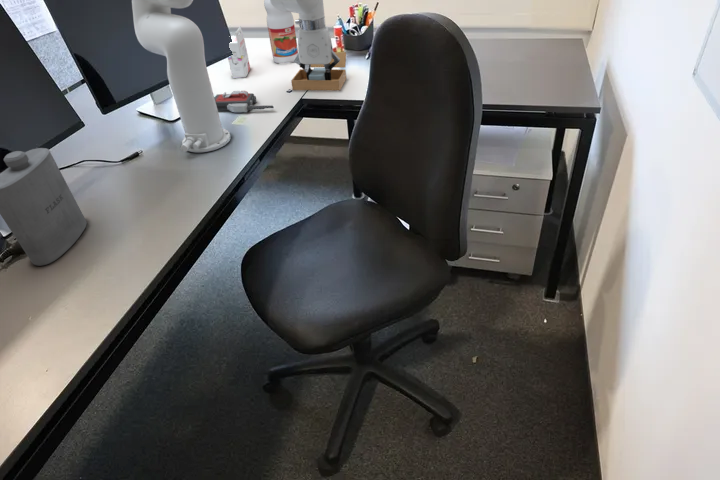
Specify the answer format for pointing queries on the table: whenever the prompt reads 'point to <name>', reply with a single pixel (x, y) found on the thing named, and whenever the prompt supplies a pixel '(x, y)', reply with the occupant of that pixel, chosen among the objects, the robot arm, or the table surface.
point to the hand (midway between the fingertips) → (319, 82)
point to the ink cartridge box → (238, 56)
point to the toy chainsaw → (237, 102)
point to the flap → (341, 63)
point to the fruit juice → (281, 34)
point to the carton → (319, 81)
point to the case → (317, 74)
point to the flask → (39, 205)
